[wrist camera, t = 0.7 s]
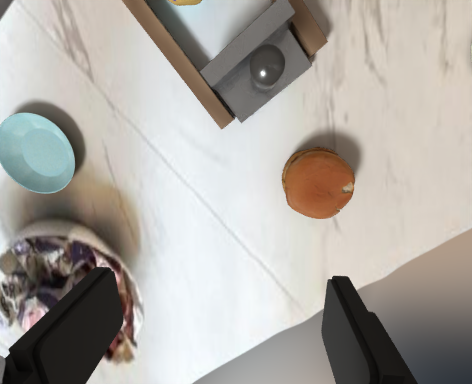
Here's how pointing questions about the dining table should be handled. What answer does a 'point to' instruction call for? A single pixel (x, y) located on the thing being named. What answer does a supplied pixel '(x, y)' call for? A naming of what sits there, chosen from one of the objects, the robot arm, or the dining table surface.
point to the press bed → (136, 3)
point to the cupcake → (185, 2)
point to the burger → (317, 182)
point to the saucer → (36, 153)
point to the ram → (258, 62)
